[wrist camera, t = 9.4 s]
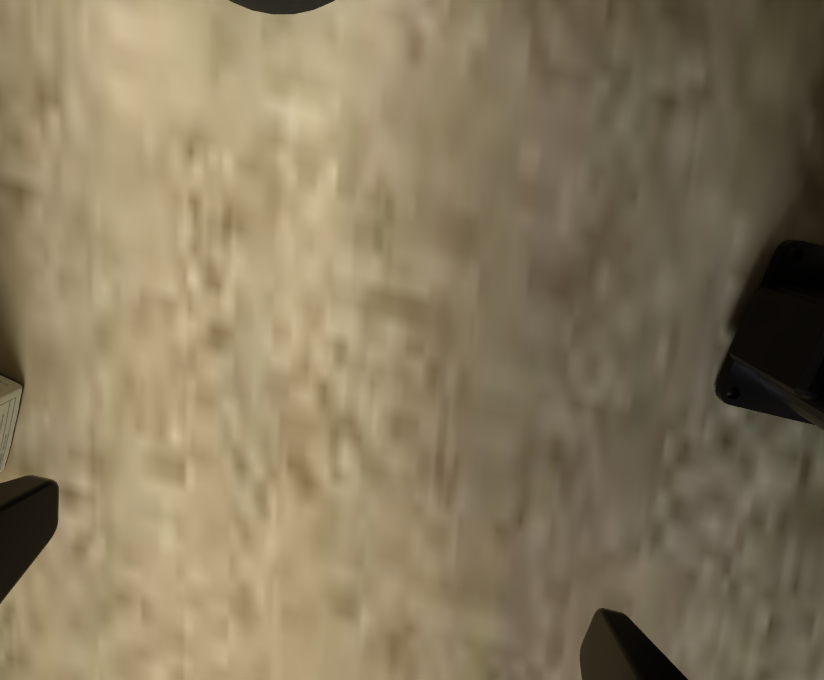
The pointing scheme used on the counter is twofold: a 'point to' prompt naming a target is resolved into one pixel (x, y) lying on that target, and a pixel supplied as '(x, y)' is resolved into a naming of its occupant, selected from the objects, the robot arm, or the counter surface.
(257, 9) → the mug
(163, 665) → the counter surface
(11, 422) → the box
